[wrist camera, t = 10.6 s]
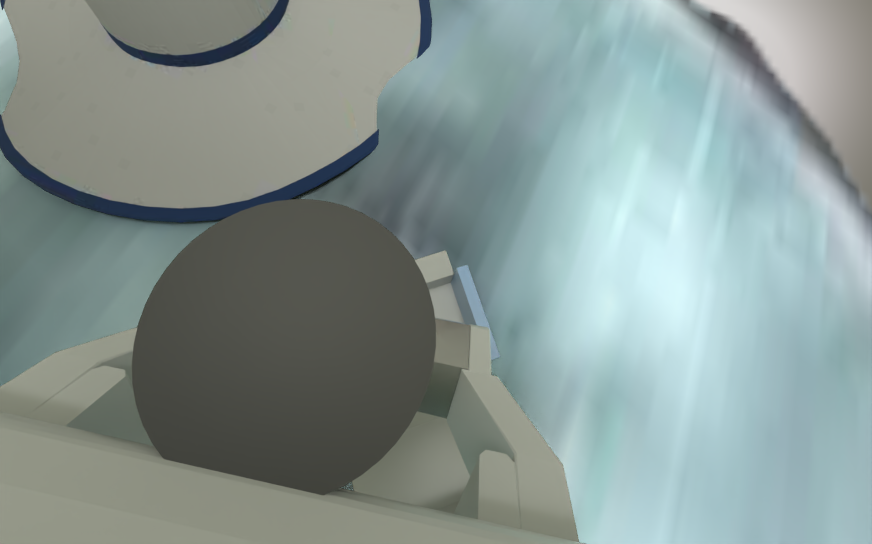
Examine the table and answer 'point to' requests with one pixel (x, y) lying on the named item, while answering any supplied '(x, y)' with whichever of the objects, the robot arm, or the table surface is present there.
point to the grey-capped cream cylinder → (285, 346)
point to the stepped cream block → (427, 434)
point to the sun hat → (199, 98)
